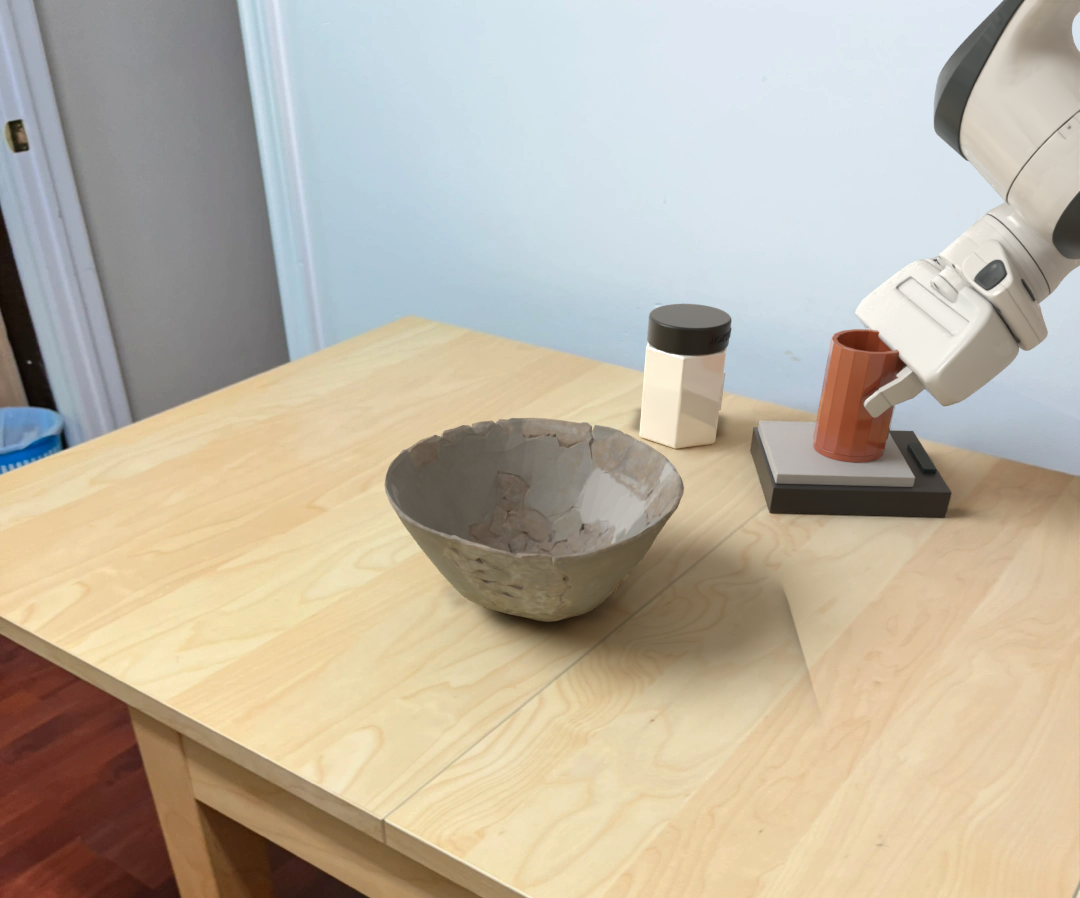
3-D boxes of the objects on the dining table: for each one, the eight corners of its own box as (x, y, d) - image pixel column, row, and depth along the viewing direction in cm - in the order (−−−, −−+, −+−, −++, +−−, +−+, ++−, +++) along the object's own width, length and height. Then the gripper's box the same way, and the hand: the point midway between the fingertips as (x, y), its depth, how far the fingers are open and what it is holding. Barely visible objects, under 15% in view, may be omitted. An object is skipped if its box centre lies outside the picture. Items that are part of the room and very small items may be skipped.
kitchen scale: (907, 454, 106) (915, 421, 104) (945, 517, 95) (955, 482, 93) (750, 450, 106) (754, 417, 104) (769, 513, 95) (775, 477, 93)
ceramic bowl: (458, 704, 72) (452, 579, 66) (357, 555, 88) (345, 442, 82) (729, 632, 79) (746, 513, 73) (590, 506, 96) (595, 400, 89)
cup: (875, 434, 101) (898, 329, 95) (891, 463, 96) (916, 354, 89) (807, 433, 101) (825, 328, 95) (819, 462, 96) (839, 352, 89)
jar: (715, 453, 105) (730, 333, 98) (635, 446, 106) (644, 326, 99) (720, 419, 112) (734, 305, 105) (644, 413, 113) (653, 299, 106)
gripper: (923, 224, 96) (801, 332, 102) (1019, 287, 80) (869, 411, 85) (957, 275, 99) (837, 377, 105) (1056, 345, 83) (909, 462, 88)
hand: (852, 393), depth 95 cm, fingers closed on cup, 7 cm apart
